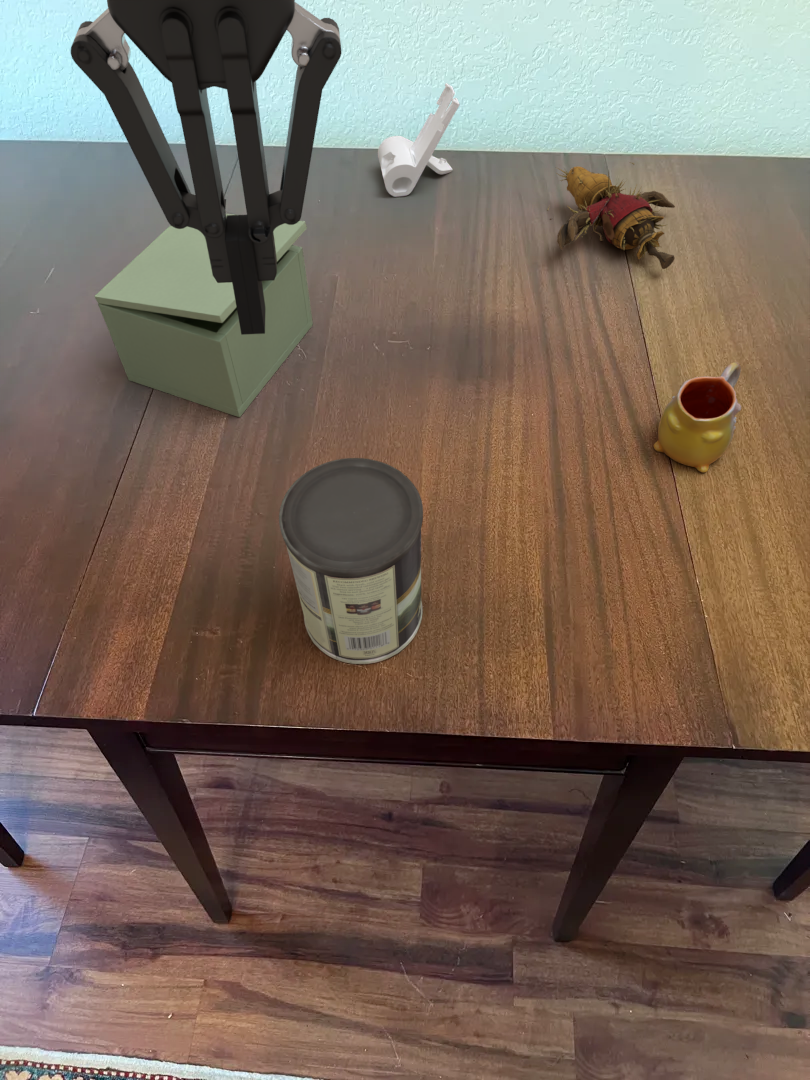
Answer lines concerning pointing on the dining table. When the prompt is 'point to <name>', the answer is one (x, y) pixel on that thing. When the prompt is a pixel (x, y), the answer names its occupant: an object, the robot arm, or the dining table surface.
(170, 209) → the robot arm
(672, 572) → the dining table surface
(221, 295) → the lid
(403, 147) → the plastic part
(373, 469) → the coffee can
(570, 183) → the scarecrow
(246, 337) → the chest
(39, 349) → the dining table surface
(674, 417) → the mug
